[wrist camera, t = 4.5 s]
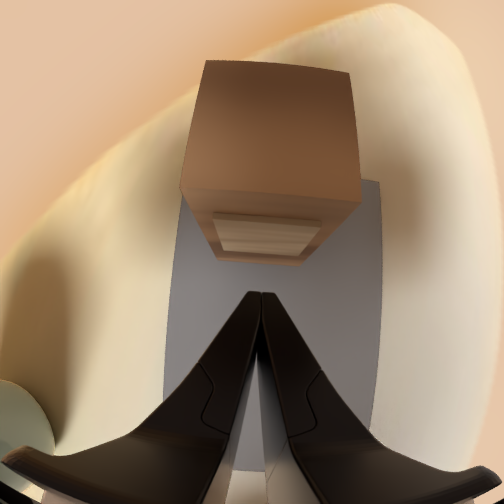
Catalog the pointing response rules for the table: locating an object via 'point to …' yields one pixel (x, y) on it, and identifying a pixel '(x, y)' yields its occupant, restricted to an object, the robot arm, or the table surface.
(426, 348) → the table surface
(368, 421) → the mat
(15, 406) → the cup
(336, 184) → the block
